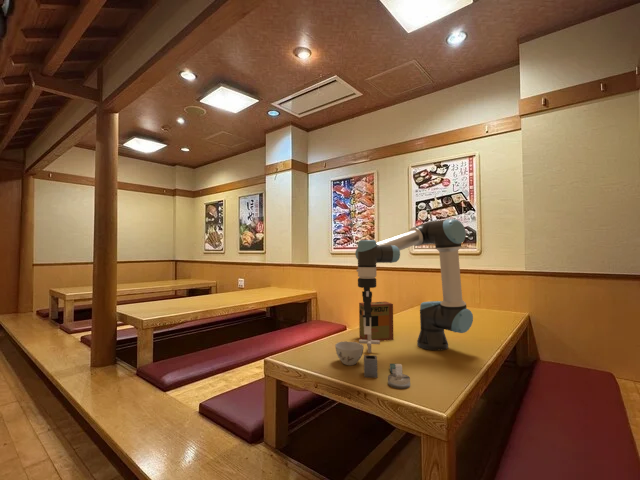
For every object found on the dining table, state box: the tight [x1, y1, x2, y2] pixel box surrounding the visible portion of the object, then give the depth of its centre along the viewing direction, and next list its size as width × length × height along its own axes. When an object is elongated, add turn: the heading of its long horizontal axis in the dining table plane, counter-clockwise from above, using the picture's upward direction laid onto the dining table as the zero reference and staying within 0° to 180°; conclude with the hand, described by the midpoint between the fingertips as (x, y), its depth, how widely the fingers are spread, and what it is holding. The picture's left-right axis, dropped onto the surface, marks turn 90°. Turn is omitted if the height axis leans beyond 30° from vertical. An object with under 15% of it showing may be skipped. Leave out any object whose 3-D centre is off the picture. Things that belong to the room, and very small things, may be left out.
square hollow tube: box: [363, 354, 378, 379], centre depth 128 cm, size 5×5×7 cm
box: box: [358, 301, 394, 342], centre depth 181 cm, size 17×9×20 cm, turn 104°
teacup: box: [334, 341, 364, 366], centre depth 142 cm, size 15×12×8 cm
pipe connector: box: [358, 334, 381, 354], centre depth 156 cm, size 10×10×10 cm
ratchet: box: [387, 363, 411, 390], centre depth 124 cm, size 8×20×7 cm, turn 174°
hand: (367, 330), depth 130 cm, fingers open, 13 cm apart
